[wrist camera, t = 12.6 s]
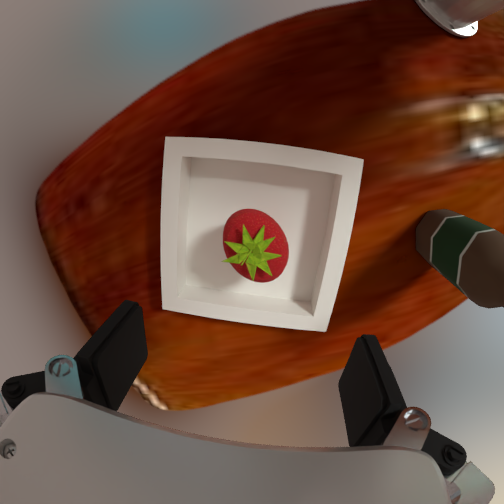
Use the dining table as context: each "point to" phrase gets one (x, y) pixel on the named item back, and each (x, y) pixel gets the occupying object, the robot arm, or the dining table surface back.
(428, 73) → the dining table surface
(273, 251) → the strawberry
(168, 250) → the tray
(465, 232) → the beer bottle
